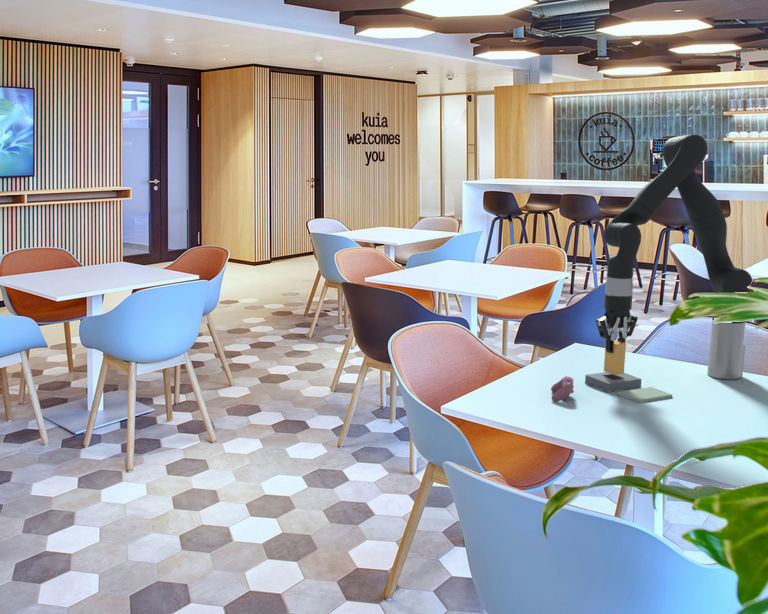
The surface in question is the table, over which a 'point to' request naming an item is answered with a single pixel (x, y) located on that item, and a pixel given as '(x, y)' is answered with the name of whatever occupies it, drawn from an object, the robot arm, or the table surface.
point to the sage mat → (645, 394)
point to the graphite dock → (612, 381)
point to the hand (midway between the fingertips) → (615, 351)
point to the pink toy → (562, 389)
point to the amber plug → (615, 359)
